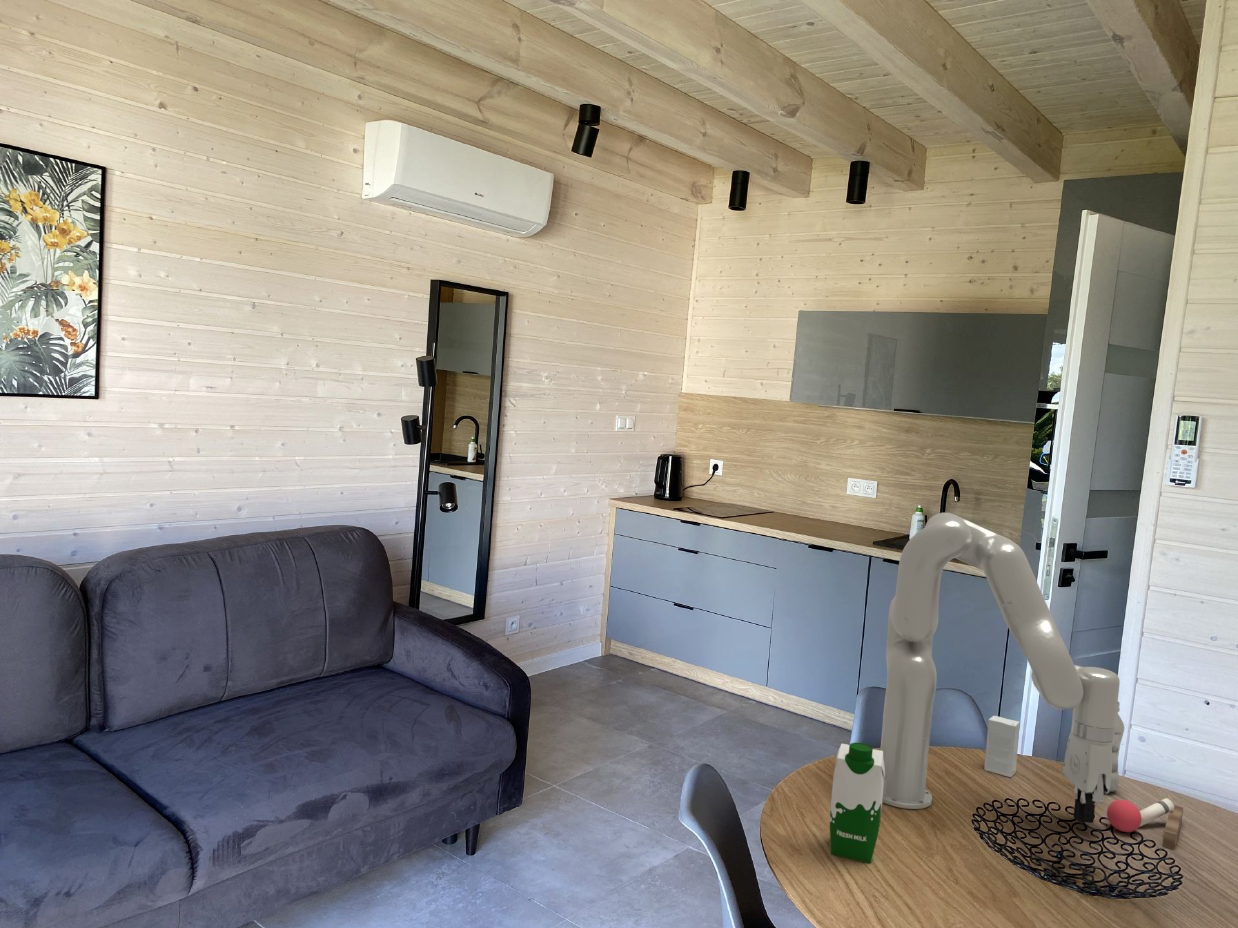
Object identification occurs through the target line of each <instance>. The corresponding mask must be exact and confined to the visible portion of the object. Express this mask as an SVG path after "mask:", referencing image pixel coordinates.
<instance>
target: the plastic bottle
mask: <svg viewBox="0 0 1238 928" xmlns="http://www.w3.org/2000/svg"><path fill="white" fill-rule="evenodd" d="M1119 712H1120V702H1119V701H1118V704H1117V713H1116V723H1115V732H1114V742H1113V744H1111V745H1112V776H1111V785H1110V790H1109V793H1113V792H1114V791H1116V790H1117V789H1118V786H1119V784H1120V783H1119V782H1120V777H1119V754H1120V748H1121V743H1122V739H1123V736H1124V732H1125V723H1124V722H1123V720H1122V717H1121V715H1120V714H1119Z"/></svg>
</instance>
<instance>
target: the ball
mask: <svg viewBox="0 0 1238 928" xmlns="http://www.w3.org/2000/svg"><path fill="white" fill-rule="evenodd" d="M1106 809H1107V810H1106V817H1107V820H1108V821H1109V823H1110V824H1111V826H1112V827H1113V828H1115V829H1116V830H1118V831H1120V832H1123V833H1131V832H1134V831H1136V830H1138V828H1140V827H1141V826H1140V824H1141V820H1142V818H1141V813H1140V811H1141V810H1140V809H1139V808H1138V807H1137V805H1135V804H1134V803H1132V802H1131V801H1129V800H1127V799H1116V800H1113V801H1112V802H1111V803H1109V805H1108V807H1107V808H1106ZM1139 826H1140V827H1139Z"/></svg>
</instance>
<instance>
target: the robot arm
mask: <svg viewBox="0 0 1238 928" xmlns="http://www.w3.org/2000/svg"><path fill="white" fill-rule="evenodd" d="M953 559H956V560H958V561H960V562H963V563H965V564H967V565H969V566H970V567H971V566H972V567H973V568H975V569H978V570H981V571H983V573H984V575H985V578H986V580H987V582H988V584H989V587H990V589H991V592H992V594H993V595H994V599H995V601H996V602H997V605H998V607H999V610H1000V612H1001V614H1002V617H1003V620H1004V622H1005V624H1006V626H1007V627H1008V630H1009V631H1010V633H1011V635H1012V636H1013V637H1014V639H1015V640H1016V642H1017V644H1018V645H1019V647H1020V649H1021V650H1022V652H1023V654H1024V656H1025V658H1026V660H1027V663H1028V664H1029V666H1030V668H1031V681H1032V684H1033V686H1034V687H1035V689H1036V690H1037V691H1038V693H1039V694H1040V695H1041V697H1042V699H1043V700H1044V701H1045V702H1046V703H1047V704H1048V705H1049V706H1050V707H1052V708H1054V709H1057V710H1059V711H1068V710H1073V711H1072V718H1071V719H1072V720H1071V729H1070V733H1069V736H1068V739H1067V744H1066V746H1065V747H1066V749H1065V753H1064V762H1063V767H1062V772H1063V773H1062V774H1063V775H1064V777H1065V778H1066V779H1067V780H1068V781H1069V782H1071V784H1072V785H1073V786H1074V791H1073V792H1074V795H1073V796H1074V798H1075V800H1074V806H1073V819H1075V820H1076V821H1077V822H1078V823H1088V824H1092V823H1094V820H1095V811H1096V810H1095V809H1096V805H1098V803H1104V801H1105V799H1104V795H1108V794H1109V793H1110V792H1109V790H1110V785H1111V776H1112V745H1111V744H1113V742H1114V732H1115V723H1116V713H1117V704H1118V702H1119V693H1120V683H1121V681H1120V680H1121V679H1120V678H1119V676H1118V674H1117V673H1115V672H1114V671H1111V670H1109V669H1106V668H1102V667H1097V666H1081V665H1076V664H1074V661H1073V659H1072V656H1071V655H1070V653H1069V650H1068V649H1067V645H1066V644H1065V642H1064V640H1063V638H1062V636H1061V634H1060V631H1059V629H1058V627H1057V623H1056V622H1055V619H1054V617H1053V615H1052V613H1051V611H1050V609H1049V607H1048V604H1047V602H1046V600H1045V598H1044V595H1043V593H1042V591H1041V588H1040V586H1039V584H1038V581H1037V578H1036V577H1035V574H1034V573H1033V570H1032V568H1031V565H1030V563H1029V561H1028V558H1027V556H1026V554H1025V552H1024V550H1023V549H1022V548H1021V547H1020V545H1018V544H1017V543H1016V542H1014V541H1012V540H1011V539H1009V538H1008V537H1005V536H1003V535H1000V534H998V533H996V532H995V531H991V530H989V529H986V528H985V527H982V526H980V525H978V524H976V523H974V522H971V521H969V520H967V519H965V518H964V517H960V516H958V515H957V514H953V513H952V512H951V513H950V512H940V513H939V512H938V513H936V514H934V515H933V516H931V517H930V518H929V519H928V520H927V522H925V526H924V528H922V529H920V530H919V531H918V532H916V533H915V534H914V535H913V536H912V537H911V538H910V539H909V540H908V542H907V543H906V545H905V546H904V548H903V550H902V552H901V555H900V558H899V562H898V568H897V578H896V585H895V595H894V597H893V598H892V600H891V601H890V605H889V609H888V619H887V634H886V635H887V636H886V650H885V662H886V671H887V672H886V673H887V674H886V685H885V686H886V687H885V688H886V689H885V694H884V695H885V696H884V705H883V714H882V715H883V716H882V729H881V741H880V751H883V759H884V767H885V777H884V786H883V798H882V804H887V805H889V806H893V807H896V808H900V809H906V810H920V809H921V810H922V809H925V808H927V807H929V806H931V805H932V803H933V795H932V793H931V792H930V791H929V790H928V789H927V788H926V784H927V783H926V781H927V774H928V773H927V771H928V764H929V763H928V761H929V749H930V739H931V729H932V718H933V709H934V708H933V707H934V701H935V695H936V690H937V683H938V682H937V681H938V680H937V679H938V677H937V673H938V672H937V668H936V664H935V661H934V659H933V658H934V657H933V656H932V655H933V641H934V635H935V633H936V631H937V628H938V626H939V625H938V624H939V617H940V616H939V603H940V589H941V587H940V586H941V580H942V573H943V570H944V569H945V566H946V565H947V564H948V563H949V562H950V561H951V560H953Z"/></svg>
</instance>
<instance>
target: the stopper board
mask: <svg viewBox="0 0 1238 928" xmlns="http://www.w3.org/2000/svg"><path fill="white" fill-rule="evenodd" d="M1173 805H1174V810H1172V811H1170V812H1168V813H1169V814H1168V817H1167V819H1166V824H1165V827H1164V830H1163V839H1162V847H1165V848H1168V849H1171V850H1174V851H1175V849H1176V845H1177V842H1178V837H1179V833H1180V830H1181V827H1182V821H1183V813H1184V807H1183V806H1179V805H1175V804H1173Z"/></svg>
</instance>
